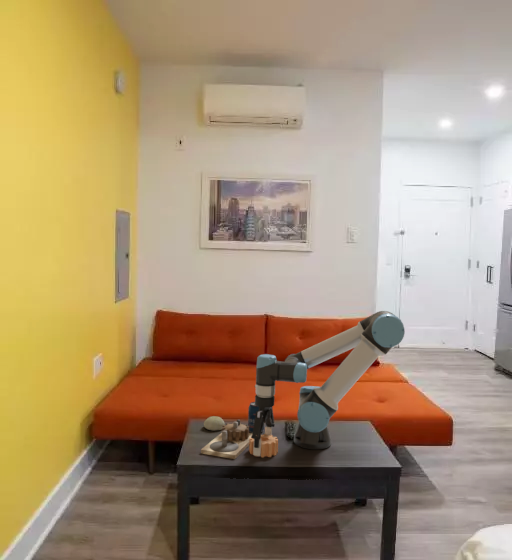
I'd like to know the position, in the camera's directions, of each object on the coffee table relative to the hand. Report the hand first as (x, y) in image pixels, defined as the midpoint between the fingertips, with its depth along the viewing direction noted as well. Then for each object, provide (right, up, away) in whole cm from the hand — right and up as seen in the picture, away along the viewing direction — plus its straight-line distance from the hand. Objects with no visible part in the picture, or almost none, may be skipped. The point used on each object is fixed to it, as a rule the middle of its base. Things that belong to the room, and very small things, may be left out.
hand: (262, 449), depth 192 cm
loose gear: (0, -1, 0) cm, 1 cm away
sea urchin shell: (-21, 0, +25) cm, 33 cm away
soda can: (-3, 0, +23) cm, 23 cm away
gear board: (-13, 0, +6) cm, 14 cm away
